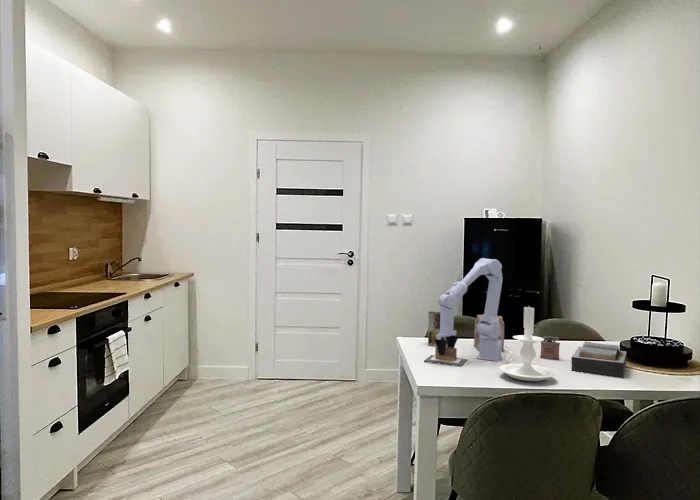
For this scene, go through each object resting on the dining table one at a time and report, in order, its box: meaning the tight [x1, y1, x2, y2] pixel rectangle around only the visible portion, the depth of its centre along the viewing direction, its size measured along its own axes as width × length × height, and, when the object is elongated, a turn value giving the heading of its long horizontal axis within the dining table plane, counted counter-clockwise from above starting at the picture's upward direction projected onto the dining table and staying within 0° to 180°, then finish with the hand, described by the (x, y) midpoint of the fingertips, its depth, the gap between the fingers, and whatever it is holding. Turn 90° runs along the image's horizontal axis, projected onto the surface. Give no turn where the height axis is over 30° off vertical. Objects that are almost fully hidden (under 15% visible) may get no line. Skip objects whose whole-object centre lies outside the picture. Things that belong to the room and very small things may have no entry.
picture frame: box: [423, 354, 468, 368], centre depth 232 cm, size 16×12×1 cm
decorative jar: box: [473, 313, 505, 353], centre depth 259 cm, size 12×12×18 cm
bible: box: [570, 341, 629, 379], centre depth 226 cm, size 23×27×10 cm
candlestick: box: [499, 306, 557, 382], centre depth 209 cm, size 21×25×28 cm
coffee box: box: [427, 311, 447, 347], centre depth 265 cm, size 9×6×16 cm
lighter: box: [539, 335, 561, 361], centre depth 241 cm, size 8×3×10 cm, turn 62°
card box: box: [434, 346, 458, 362], centre depth 232 cm, size 4×8×5 cm, turn 51°
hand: (446, 353), depth 232 cm, fingers open, 7 cm apart
